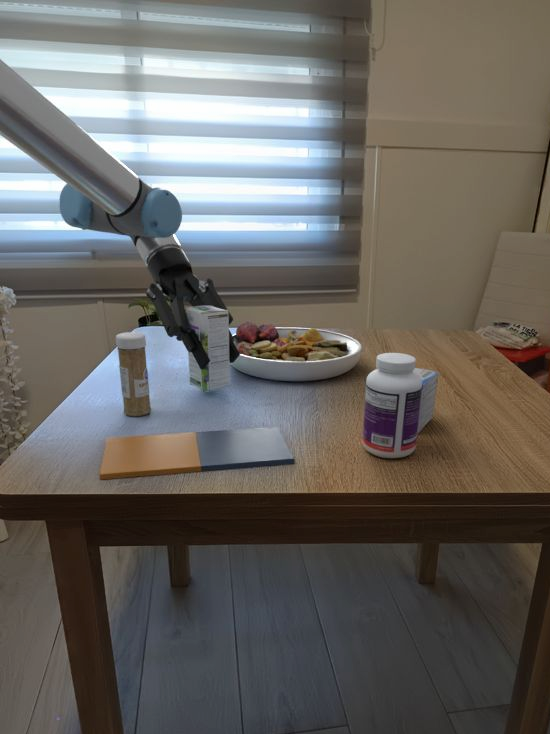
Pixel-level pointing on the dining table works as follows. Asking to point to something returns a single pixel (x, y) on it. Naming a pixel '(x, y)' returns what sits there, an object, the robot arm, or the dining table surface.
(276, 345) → the bowl
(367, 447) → the pill bottle
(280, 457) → the sorting board
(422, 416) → the medicine box
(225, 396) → the dining table surface
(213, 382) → the syrup box
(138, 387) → the sprinkles bottle
